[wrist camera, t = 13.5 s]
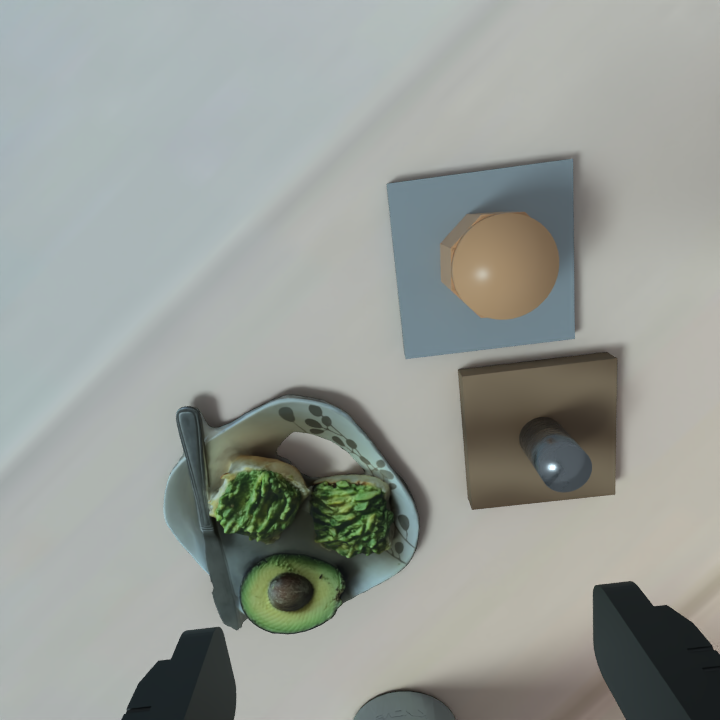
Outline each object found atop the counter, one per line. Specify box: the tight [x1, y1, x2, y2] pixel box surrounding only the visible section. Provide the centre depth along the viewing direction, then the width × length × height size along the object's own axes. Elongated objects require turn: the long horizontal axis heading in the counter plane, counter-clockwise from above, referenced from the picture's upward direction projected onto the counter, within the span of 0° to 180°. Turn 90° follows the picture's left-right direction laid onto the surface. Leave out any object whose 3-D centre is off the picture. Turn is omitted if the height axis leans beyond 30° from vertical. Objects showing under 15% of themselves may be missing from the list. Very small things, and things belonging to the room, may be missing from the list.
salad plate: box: [164, 395, 420, 634], centre depth 36 cm, size 19×18×5 cm
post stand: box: [458, 352, 617, 510], centre depth 33 cm, size 10×10×6 cm
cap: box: [440, 212, 559, 320], centre depth 29 cm, size 6×6×5 cm
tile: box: [386, 159, 575, 359], centre depth 32 cm, size 11×11×1 cm
